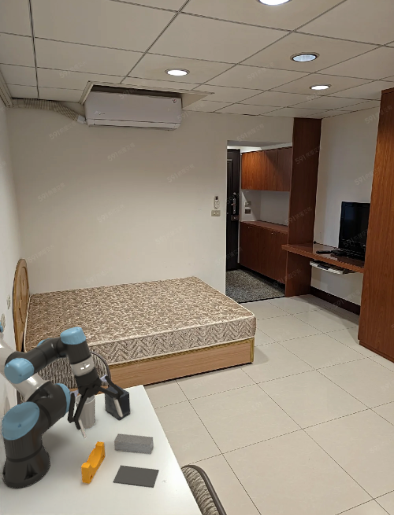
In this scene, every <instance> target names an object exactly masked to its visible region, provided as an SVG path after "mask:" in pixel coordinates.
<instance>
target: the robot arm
mask: <svg viewBox="0 0 394 515" xmlns="http://www.w3.org/2000/svg"><path fill="white" fill-rule="evenodd" d="M61 359H67V360H68V362H69V365H70V368H71V372H72V375H74V380H75V383H76V386H77V389H76V390H74V391H72V390H70V389H69V388H68V387H67V385H65V384H64V383H60V382H58V383H53V382H52V381H51V380H50V379H47V380H45V379H43V378H42V376H40V375H39V374H38V372H41V370H43V369H44V368H46V367H48V366H50V365H51V364H53V363H54V362H56V361H57V360H61ZM95 366H96V365H95V361H94V359H93V356H92V353H91V351H90V346H89V344H88V341H87V336H86V335H85V333H84V331H83V328H82V327H81V326H74V327H70V328H68V329H66V330H65V329H64V330H63V331H62V332H61V333H60V335H59V336H57V337H48V338H46V339H43V340H41V341H39V342H38V344H37V345H36V346H35V347H34V348H32V349H29V350H28V351H26V352H23V351H18V350H14V349H13V348H12V347H11V346H10V345H9V344H8V343H7V342H6V341H5V340H4V328H3V325H2V322H1V321H0V374H1V376H2V377H4V378H5V380H6V381H7V382H8V383H9V384H10V385H11V386H12V387H14V389H15V390H17V392H18V393H19V394H20V395H21V396H22V397H23V398H24V402H21V403H20V404H19V403H18V404H16V405H14V406H13V407H11V408H9V409H8V410H7V411H6V413H5V414H4V415H3V417H2V420H1V435H2V440H3V444H4V445H3V447H4V453H5V460H4V464H3V468H2V480H3V483H4V485H5V486H7V487H8V488H11V489H23V488H27V487H30V486H32V485H34V484H36V483H37V482H39V481H40V480H42V479H43V478H44V477H45V476H46V475H47V474H48V472H49V470H50V467H51V456H50V454H49V453H48V451H47V450H46V447H45V446H44V443H43V435H44V434H46V432H47V431H48V430H49V429H51V428H52V427H53V426H54V425H55V424H56V423H57V422H59V421H60V419H62V418H64V417H65V416H66V414H67V422H68V423H69V424H72V423H74V425H75V427H76V430H78V431H81V435H82V437H83V439H87V438H88V437H87V434H86V431H85V430H86V429H84V427H83V425H82V422H81V419H80V418H79V417H80V414H81V412H82V409H83V406H84V404H85V402H86V400H87V398H90V397H92V396H93V395H95V396H96V395H98V394H99V392H101V393H105V394H108V395H110V396H112V397H114V399H113V400H114V403H115V406H116V409H117V412H118V415H119V416H120V417H122V416H123V415H122V412H121V409H120V407H121V406H122V403H121V400H120V398H121V397H120V396H121V395H123V394H124V392H123V391H122V390H121V389H120V388H118V387H117V386H118V385H117V384H116V383H114V382H113V381H112V380H111V379H110V376H108V375H107V374H106V373H105V374H103V376H101V377H99V373H98V370H97V368H96V367H95ZM102 382H103V383H107V384H108V385H109V387H111V386H112V387H113V388H114V389H115V390H116V391H117V392H118V393H117V394H116V393H114V392H112V391H109V390H107V389H106V388H105V387H104V386H102ZM115 384H116V385H117V386H116V385H115ZM78 394H79V395H80V394H81V397H80V401H79V404H78V406H77V407H76V402H75V401H76V397H77V396H78ZM105 394H104V395H105ZM75 408H76V409H75Z"/></svg>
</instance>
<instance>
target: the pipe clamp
mask: <svg viewBox="0 0 394 515" xmlns="http://www.w3.org/2000/svg"><path fill="white" fill-rule="evenodd" d="M105 448H106V447H105V442H104V441H100V440H99V441H97V442H95V445H94V448H93V449H92V450H91V452H90V453H89V454H88V457H87V460H86V462H83V463H82V464H81V467H80V471H81V479H82V482H81V483H82V484H88V485H90V484H91V482H92V481H93V479H94V477H95V475H96V474H97V472H98V470H99V468H100V467H101V465H102V463H103V461H104V460H105V458H106V449H105Z"/></svg>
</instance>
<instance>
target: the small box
mask: <svg viewBox="0 0 394 515" xmlns="http://www.w3.org/2000/svg"><path fill="white" fill-rule="evenodd" d="M114 384H115V385H116V386H117V387H118V388H120V389H121V390H122V391H123V392H124V394H123V395H121V396H120V397H121V398H120V400H121V403H122V406H121V407H120V409H121V412H122V415H123V416H122V417H120V416H119V415H118V412H117V409H116V406H115V403H114V400H113V399H114V397H112V396H110V395H108V394H105V393H104V406H105V409H104V410H105V412H107V414H109V415H111V416H112V417H114V418H115V419H117V421H121V420H122V419H124V418H126V417H127V416H129V415H130V414H131V405H130V404H131V402H130V400H131V399H130V392H129V391H128V390H126V389H124V388H122V387H121V386H119V385H117V384H116V383H114ZM105 389H107V390H109V391H112V392H114V393H116V394H117V393H118V392H117V391H116V390H115V389H114V388H113V387H112V386H108V387H107V388H105Z"/></svg>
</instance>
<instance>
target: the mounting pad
mask: <svg viewBox="0 0 394 515" xmlns="http://www.w3.org/2000/svg"><path fill="white" fill-rule="evenodd" d="M159 471H160V469H155V468H147V467H140V466H128V465H122V464H121V465H120V466H119V468H118V470H117V472H116V474H115V475H114V476H115V477H114V479H113V481H112V483H114V484H121V485H128V486H129V485H131V486H137V487H144V488H145V487H146V488H151V489H152V488H153V489H154V487H155V485H156V484H155V483H156V480H157V478H158V474H159Z"/></svg>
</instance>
